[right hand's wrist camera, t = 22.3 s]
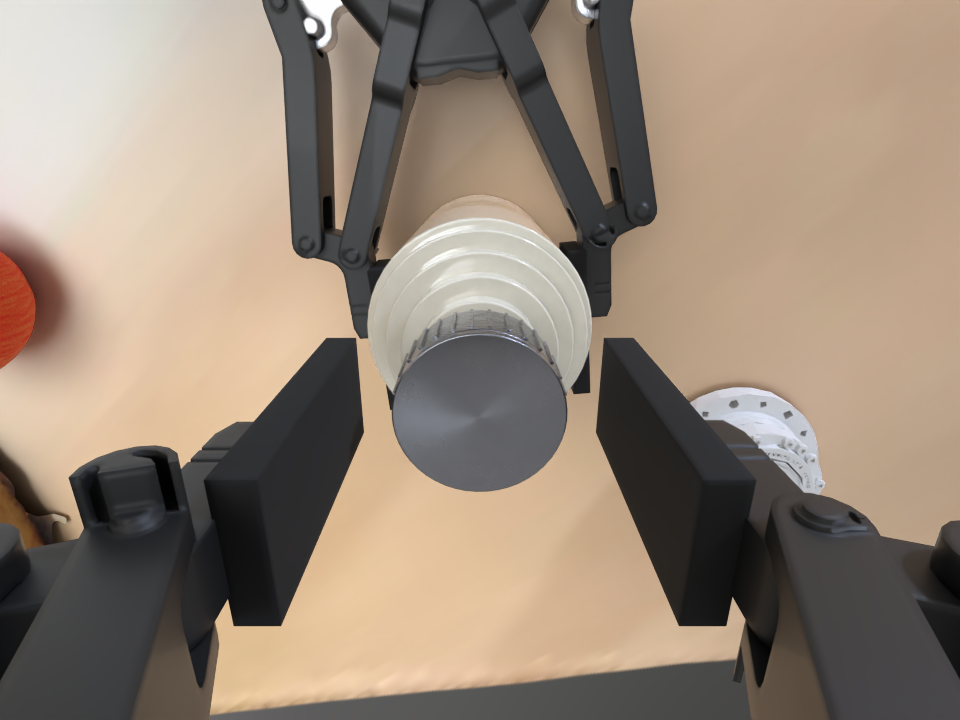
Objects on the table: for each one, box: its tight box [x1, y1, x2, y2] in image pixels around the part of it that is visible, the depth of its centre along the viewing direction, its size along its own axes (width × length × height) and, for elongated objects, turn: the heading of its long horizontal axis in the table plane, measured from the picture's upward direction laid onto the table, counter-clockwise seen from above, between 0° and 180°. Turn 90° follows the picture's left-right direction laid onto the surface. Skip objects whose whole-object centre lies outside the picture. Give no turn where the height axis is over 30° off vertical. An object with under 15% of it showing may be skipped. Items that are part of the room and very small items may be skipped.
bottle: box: [367, 195, 592, 394], centre depth 22 cm, size 8×8×18 cm
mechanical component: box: [690, 387, 826, 495], centre depth 32 cm, size 10×4×10 cm
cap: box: [392, 309, 567, 492], centre depth 13 cm, size 4×4×2 cm
